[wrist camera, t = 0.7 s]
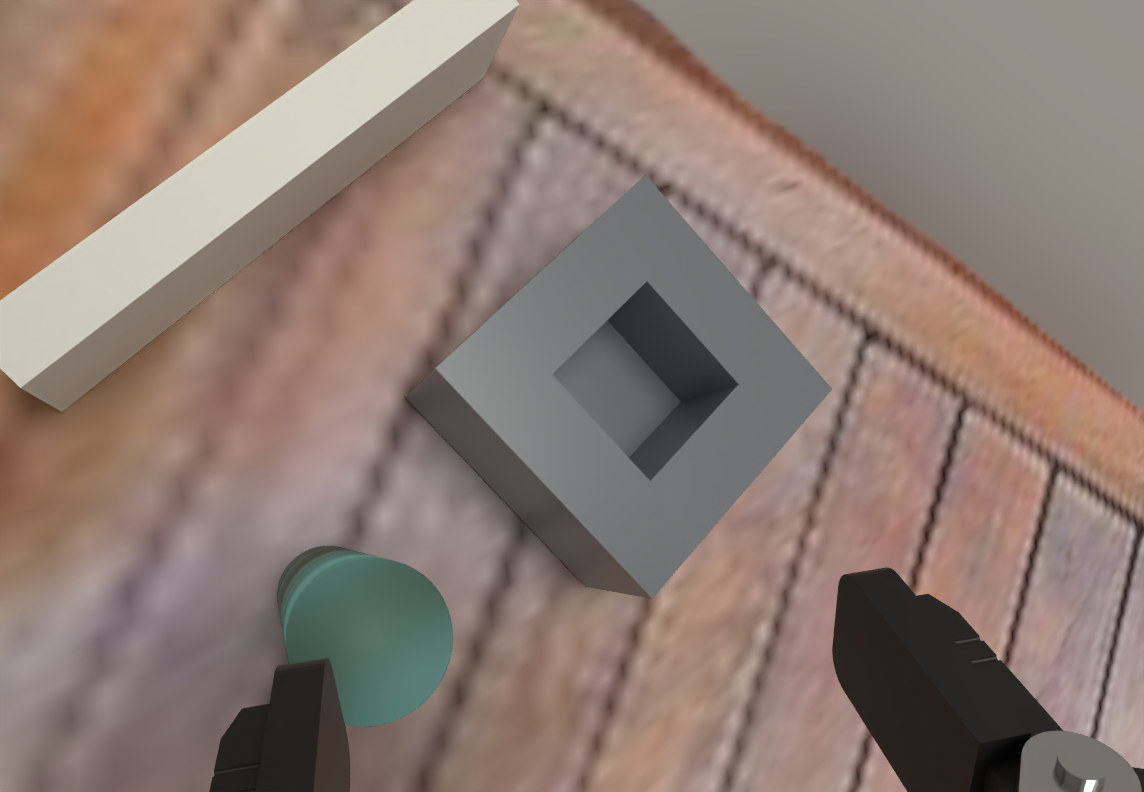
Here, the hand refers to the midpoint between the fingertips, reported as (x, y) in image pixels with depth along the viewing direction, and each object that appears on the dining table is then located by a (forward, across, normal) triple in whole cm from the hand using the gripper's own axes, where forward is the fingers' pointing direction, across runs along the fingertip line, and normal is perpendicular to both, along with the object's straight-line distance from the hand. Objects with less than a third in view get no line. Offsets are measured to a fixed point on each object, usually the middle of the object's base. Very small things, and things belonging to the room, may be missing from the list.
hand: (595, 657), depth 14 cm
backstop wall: (+27, +8, -1) cm, 28 cm away
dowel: (+19, +7, +12) cm, 23 cm away
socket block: (+24, -4, +8) cm, 25 cm away
